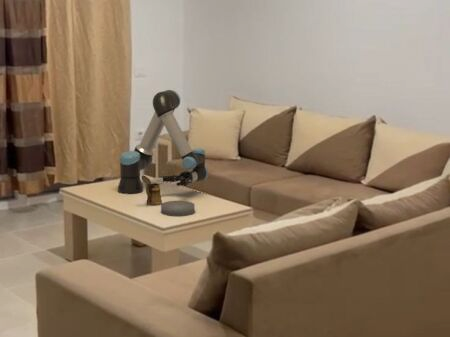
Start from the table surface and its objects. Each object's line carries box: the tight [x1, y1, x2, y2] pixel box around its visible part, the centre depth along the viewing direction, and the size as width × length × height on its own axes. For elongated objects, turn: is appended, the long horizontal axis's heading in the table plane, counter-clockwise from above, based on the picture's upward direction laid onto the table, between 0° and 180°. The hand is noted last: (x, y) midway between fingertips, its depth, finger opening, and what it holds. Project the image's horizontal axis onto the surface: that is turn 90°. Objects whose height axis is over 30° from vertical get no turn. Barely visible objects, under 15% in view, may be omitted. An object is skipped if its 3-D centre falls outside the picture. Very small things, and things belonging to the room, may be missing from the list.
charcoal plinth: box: [160, 200, 196, 217], centre depth 403 cm, size 18×18×4 cm
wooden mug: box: [140, 174, 163, 207], centre depth 417 cm, size 9×14×18 cm, turn 142°
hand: (163, 183), depth 424 cm, fingers open, 13 cm apart
